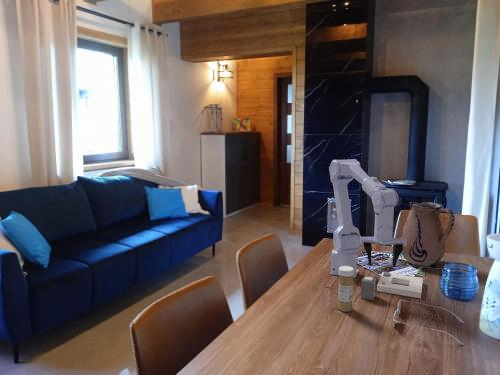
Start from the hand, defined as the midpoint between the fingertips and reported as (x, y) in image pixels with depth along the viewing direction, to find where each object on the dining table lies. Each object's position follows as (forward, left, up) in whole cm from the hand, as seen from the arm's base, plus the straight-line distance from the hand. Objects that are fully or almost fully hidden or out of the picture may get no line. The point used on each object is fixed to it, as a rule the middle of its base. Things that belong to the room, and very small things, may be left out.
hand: (381, 265), depth 131 cm
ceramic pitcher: (+13, +38, -11) cm, 42 cm away
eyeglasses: (+16, -16, -11) cm, 25 cm away
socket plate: (+6, +9, -10) cm, 15 cm away
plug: (-3, -4, -10) cm, 12 cm away
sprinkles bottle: (-8, -16, -11) cm, 21 cm away
